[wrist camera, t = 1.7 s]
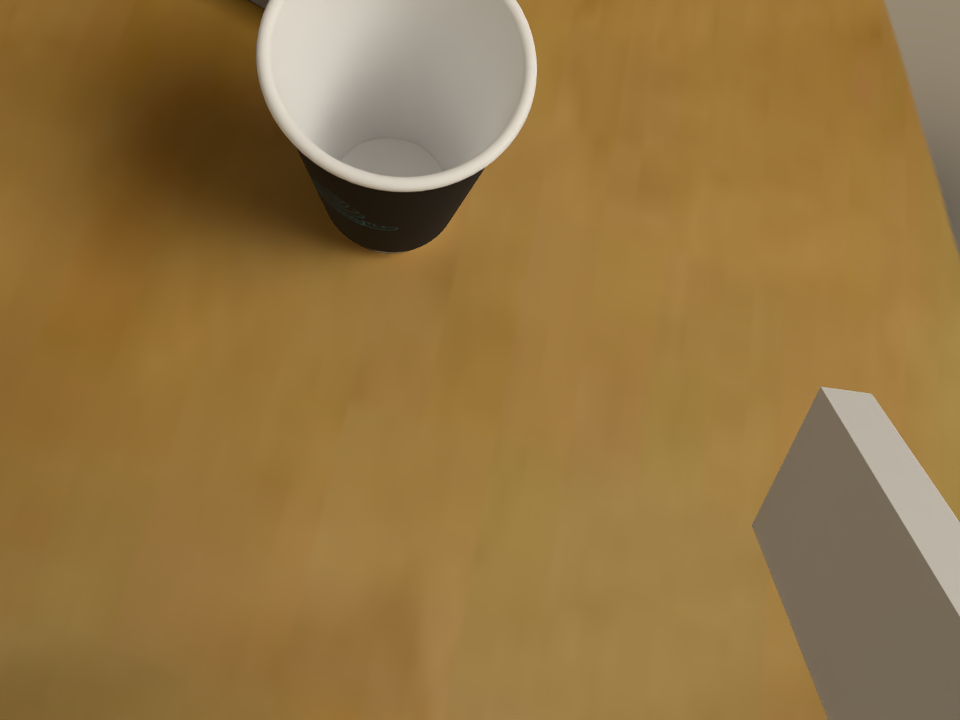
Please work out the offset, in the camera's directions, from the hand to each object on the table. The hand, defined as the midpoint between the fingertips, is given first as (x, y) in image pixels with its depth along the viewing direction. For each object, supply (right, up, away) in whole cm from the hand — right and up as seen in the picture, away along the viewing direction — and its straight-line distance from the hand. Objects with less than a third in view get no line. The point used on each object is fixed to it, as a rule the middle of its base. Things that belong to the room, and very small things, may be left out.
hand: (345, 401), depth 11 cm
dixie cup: (-2, +7, +23) cm, 24 cm away
